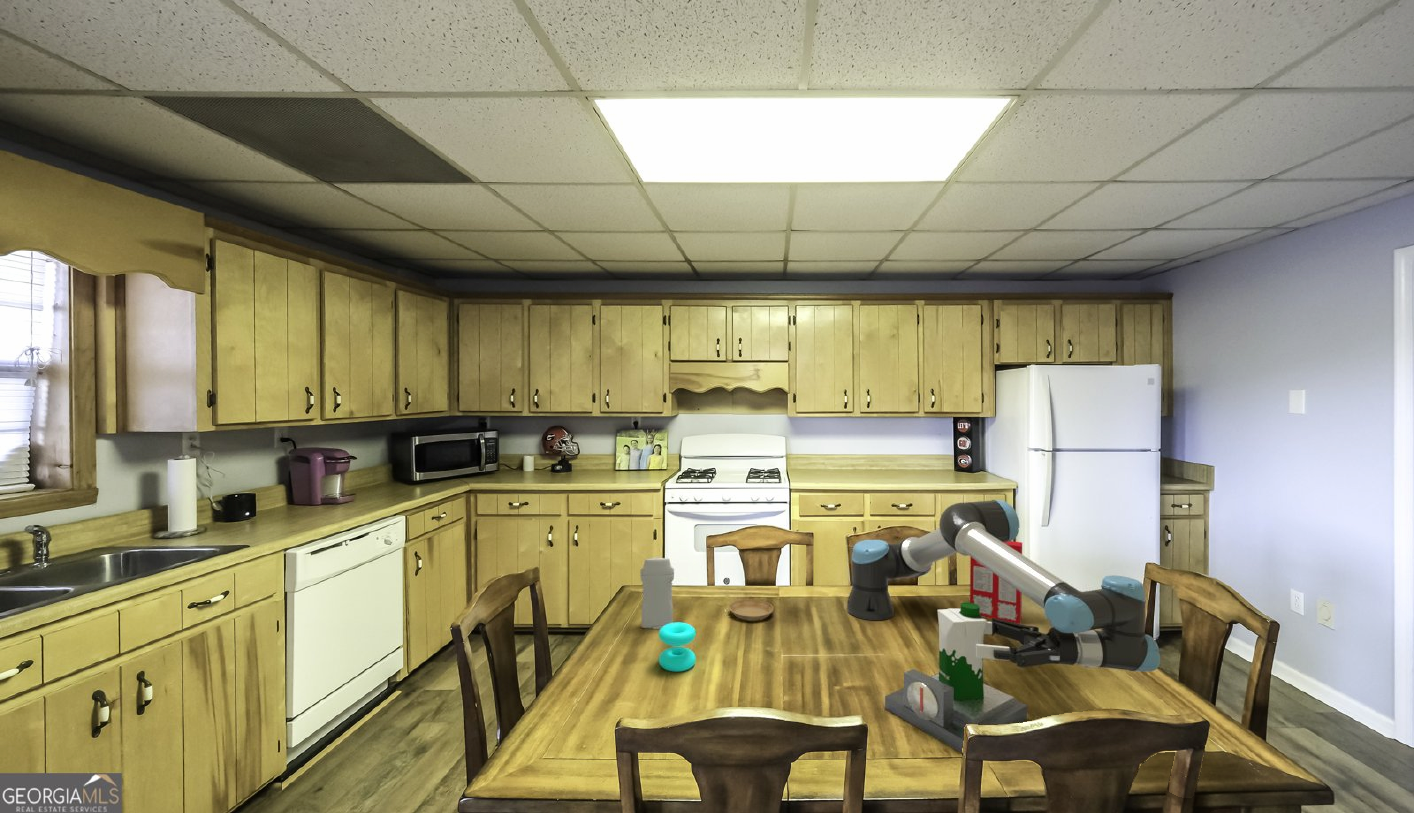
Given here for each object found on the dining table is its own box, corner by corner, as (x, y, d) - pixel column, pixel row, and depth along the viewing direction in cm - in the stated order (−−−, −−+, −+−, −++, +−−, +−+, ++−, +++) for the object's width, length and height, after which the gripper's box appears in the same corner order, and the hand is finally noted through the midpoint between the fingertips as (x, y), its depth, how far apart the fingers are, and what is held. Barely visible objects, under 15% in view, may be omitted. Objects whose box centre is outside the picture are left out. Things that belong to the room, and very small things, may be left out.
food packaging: (1021, 618, 184) (1022, 542, 184) (1020, 623, 180) (1021, 546, 179) (972, 609, 192) (972, 536, 191) (969, 614, 188) (970, 539, 187)
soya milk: (990, 700, 126) (991, 612, 126) (951, 702, 125) (952, 613, 125) (968, 681, 135) (969, 598, 134) (932, 682, 134) (932, 599, 134)
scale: (883, 709, 131) (883, 664, 130) (947, 680, 144) (948, 639, 144) (963, 755, 114) (963, 704, 114) (1027, 718, 127) (1027, 672, 127)
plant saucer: (747, 603, 198) (747, 595, 198) (782, 614, 188) (782, 606, 188) (719, 615, 187) (719, 607, 187) (754, 628, 177) (754, 619, 177)
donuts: (652, 632, 149) (667, 618, 159) (652, 670, 150) (667, 653, 159) (687, 638, 146) (700, 623, 155) (687, 676, 146) (700, 659, 156)
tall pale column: (673, 623, 180) (673, 555, 179) (674, 628, 176) (674, 558, 175) (640, 624, 179) (640, 556, 179) (640, 630, 175) (640, 559, 174)
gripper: (1098, 692, 112) (983, 680, 116) (1051, 639, 136) (957, 631, 141) (1099, 655, 112) (983, 644, 116) (1051, 608, 136) (957, 601, 141)
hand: (968, 637), depth 128 cm, fingers open, 13 cm apart
